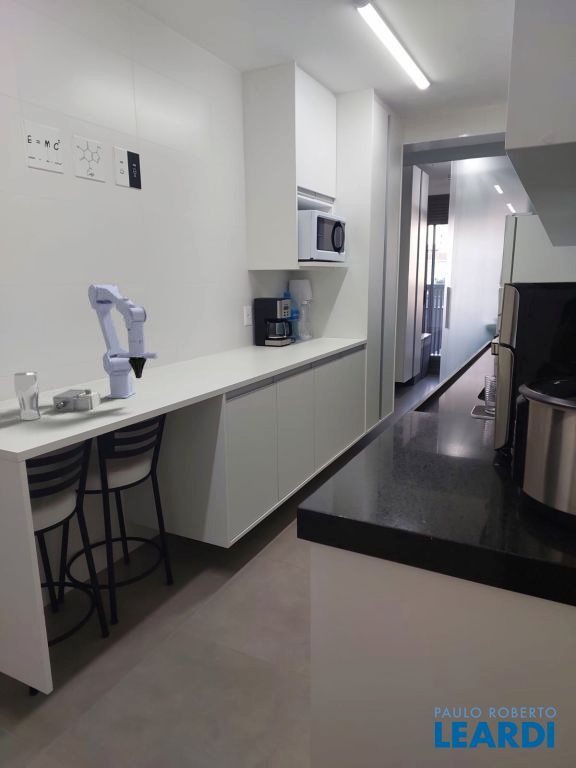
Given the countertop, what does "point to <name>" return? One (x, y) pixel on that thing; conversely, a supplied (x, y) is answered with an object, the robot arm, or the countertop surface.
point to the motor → (71, 401)
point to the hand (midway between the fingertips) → (138, 377)
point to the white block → (91, 397)
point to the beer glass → (27, 395)
